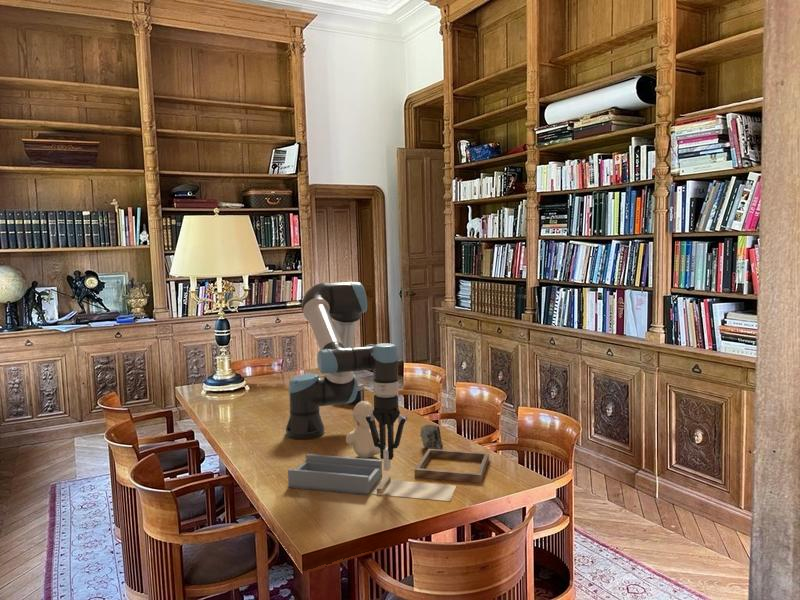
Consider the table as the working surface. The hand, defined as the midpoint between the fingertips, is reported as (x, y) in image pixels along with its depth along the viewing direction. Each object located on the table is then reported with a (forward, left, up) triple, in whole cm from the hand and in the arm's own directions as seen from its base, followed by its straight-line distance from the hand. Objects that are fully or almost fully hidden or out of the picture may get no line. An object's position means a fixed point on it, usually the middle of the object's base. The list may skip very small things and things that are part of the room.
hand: (387, 469), depth 192 cm
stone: (+6, +38, -6) cm, 39 cm away
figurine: (-15, +24, -6) cm, 29 cm away
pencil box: (-17, 0, -6) cm, 18 cm away
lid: (+8, -1, -6) cm, 11 cm away
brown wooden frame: (+17, +20, -6) cm, 27 cm away
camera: (-45, +94, -6) cm, 104 cm away
